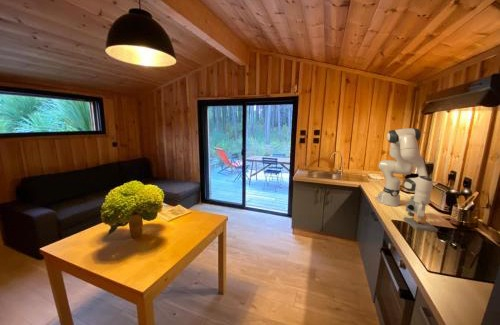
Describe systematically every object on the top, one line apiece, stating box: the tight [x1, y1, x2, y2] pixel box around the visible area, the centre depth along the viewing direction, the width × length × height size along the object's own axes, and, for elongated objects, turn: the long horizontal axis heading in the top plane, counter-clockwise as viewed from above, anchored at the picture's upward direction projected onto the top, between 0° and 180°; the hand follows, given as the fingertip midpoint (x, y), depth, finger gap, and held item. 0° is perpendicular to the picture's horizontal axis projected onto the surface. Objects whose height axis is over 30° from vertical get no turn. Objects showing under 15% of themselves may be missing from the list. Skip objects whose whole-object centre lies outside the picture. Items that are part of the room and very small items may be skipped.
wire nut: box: [413, 213, 428, 223], centre depth 153 cm, size 5×5×6 cm
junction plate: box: [402, 217, 439, 233], centre depth 153 cm, size 16×13×7 cm
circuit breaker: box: [405, 195, 417, 217], centre depth 169 cm, size 8×14×15 cm, turn 117°
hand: (418, 218), depth 154 cm, fingers open, 6 cm apart
